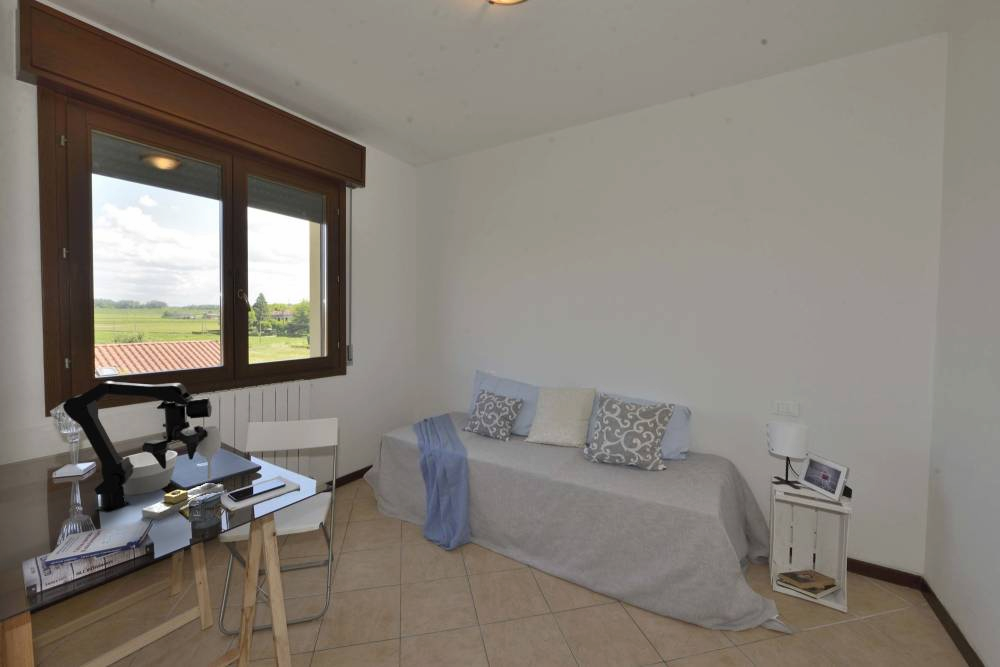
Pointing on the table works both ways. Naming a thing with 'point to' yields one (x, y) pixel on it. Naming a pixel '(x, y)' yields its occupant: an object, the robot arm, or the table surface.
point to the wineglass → (210, 445)
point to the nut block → (175, 497)
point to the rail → (166, 510)
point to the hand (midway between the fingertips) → (177, 463)
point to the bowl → (149, 473)
